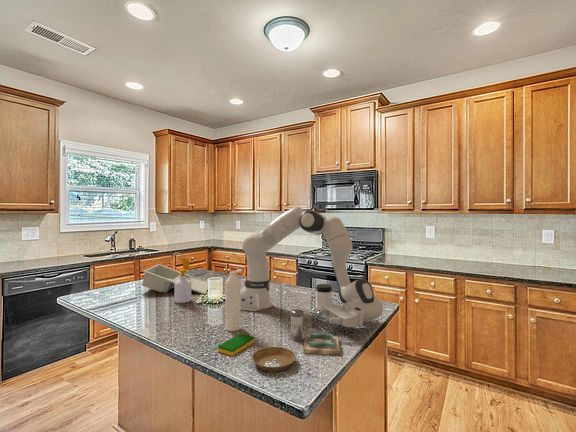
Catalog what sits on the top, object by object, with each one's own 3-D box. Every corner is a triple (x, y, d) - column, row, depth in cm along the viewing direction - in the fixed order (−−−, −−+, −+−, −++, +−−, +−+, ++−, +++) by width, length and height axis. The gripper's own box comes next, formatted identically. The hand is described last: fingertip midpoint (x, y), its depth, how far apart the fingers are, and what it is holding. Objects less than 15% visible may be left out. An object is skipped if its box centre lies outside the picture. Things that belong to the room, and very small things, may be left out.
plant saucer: (242, 366, 104) (242, 358, 104) (269, 350, 116) (269, 343, 116) (278, 380, 96) (278, 371, 96) (303, 361, 108) (303, 353, 108)
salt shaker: (289, 340, 124) (289, 313, 124) (290, 335, 129) (290, 309, 129) (302, 341, 123) (303, 313, 123) (303, 336, 129) (303, 309, 129)
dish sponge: (254, 342, 123) (254, 336, 123) (232, 357, 111) (232, 350, 111) (240, 339, 127) (240, 333, 127) (217, 352, 115) (217, 346, 115)
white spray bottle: (234, 332, 132) (234, 273, 131) (222, 329, 135) (222, 272, 135) (246, 325, 140) (246, 270, 139) (235, 323, 143) (235, 268, 142)
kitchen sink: (198, 310, 191) (213, 272, 190) (136, 287, 190) (151, 249, 189) (208, 299, 214) (220, 265, 214) (153, 279, 214) (165, 244, 213)
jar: (322, 312, 159) (322, 288, 159) (312, 307, 166) (312, 285, 166) (335, 309, 164) (335, 286, 164) (325, 304, 171) (325, 283, 170)
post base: (303, 353, 114) (303, 344, 114) (305, 338, 126) (305, 331, 126) (339, 355, 112) (339, 346, 112) (337, 340, 125) (337, 332, 125)
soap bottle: (170, 302, 174) (170, 258, 174) (182, 298, 183) (182, 256, 182) (183, 304, 171) (183, 259, 170) (194, 299, 179) (194, 257, 179)
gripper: (337, 299, 146) (311, 303, 141) (365, 312, 128) (336, 317, 122) (337, 312, 147) (311, 317, 141) (365, 327, 128) (336, 333, 122)
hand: (323, 317), depth 131 cm, fingers open, 8 cm apart
